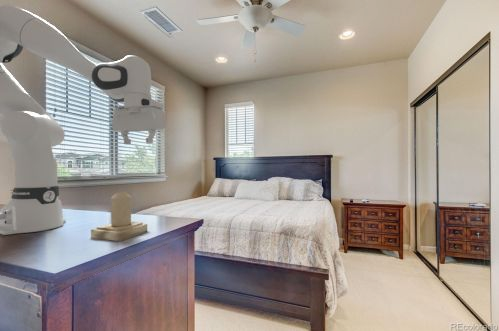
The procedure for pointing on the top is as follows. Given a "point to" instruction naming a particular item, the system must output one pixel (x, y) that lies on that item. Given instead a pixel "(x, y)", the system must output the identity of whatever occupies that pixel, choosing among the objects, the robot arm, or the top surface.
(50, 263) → the top surface
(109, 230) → the stand
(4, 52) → the robot arm
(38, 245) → the top surface
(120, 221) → the candle
